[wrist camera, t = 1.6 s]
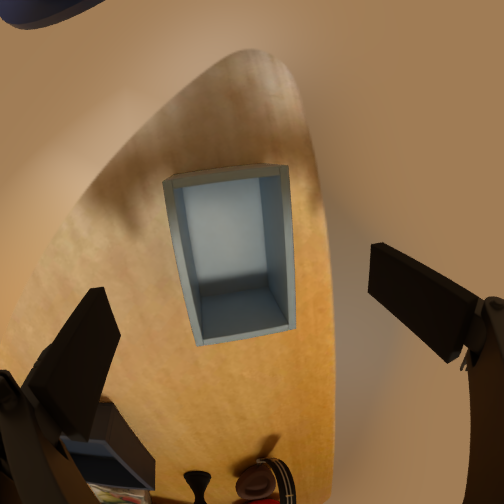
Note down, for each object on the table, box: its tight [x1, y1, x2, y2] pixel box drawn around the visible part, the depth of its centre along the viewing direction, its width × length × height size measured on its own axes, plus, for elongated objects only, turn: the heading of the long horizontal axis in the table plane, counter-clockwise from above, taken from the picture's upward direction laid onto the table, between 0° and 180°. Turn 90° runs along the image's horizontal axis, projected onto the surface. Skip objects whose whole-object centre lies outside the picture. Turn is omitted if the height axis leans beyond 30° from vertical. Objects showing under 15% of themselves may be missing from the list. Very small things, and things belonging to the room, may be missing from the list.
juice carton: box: [89, 484, 152, 504], centre depth 29 cm, size 20×10×6 cm, turn 167°
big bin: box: [60, 403, 155, 491], centre depth 23 cm, size 15×17×6 cm
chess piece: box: [184, 471, 211, 504], centre depth 27 cm, size 4×4×10 cm
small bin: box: [162, 163, 296, 346], centre depth 18 cm, size 10×6×6 cm, turn 6°
